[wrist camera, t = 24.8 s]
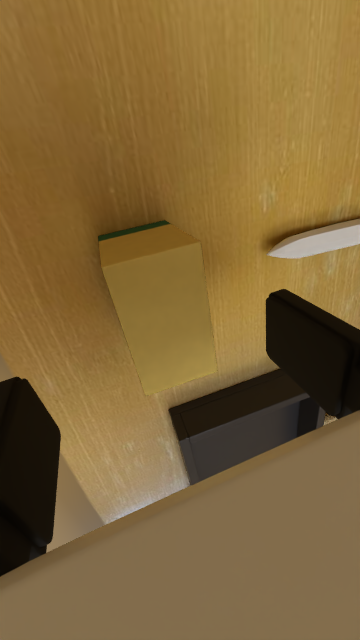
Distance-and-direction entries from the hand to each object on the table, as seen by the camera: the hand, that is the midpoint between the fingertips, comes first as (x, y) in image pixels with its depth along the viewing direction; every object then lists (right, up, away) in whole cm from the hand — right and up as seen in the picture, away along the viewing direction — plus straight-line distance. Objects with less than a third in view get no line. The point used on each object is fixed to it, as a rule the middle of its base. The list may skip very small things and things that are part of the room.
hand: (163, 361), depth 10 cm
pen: (+13, +8, +9) cm, 18 cm away
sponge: (-1, +4, +7) cm, 8 cm away
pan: (+8, -13, +19) cm, 24 cm away
